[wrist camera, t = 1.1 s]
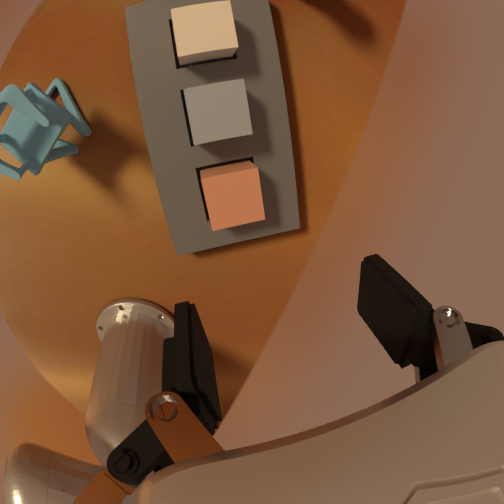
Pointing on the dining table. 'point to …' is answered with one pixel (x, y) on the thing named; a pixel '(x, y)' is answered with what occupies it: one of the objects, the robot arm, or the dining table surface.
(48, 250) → the dining table surface
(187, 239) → the button panel
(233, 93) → the slate button
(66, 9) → the dining table surface
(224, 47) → the cream button
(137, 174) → the dining table surface
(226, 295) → the dining table surface
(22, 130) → the chair
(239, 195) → the terracotta button
